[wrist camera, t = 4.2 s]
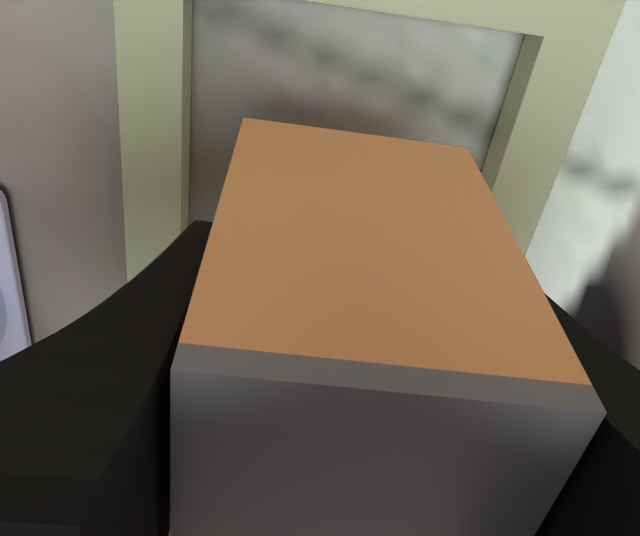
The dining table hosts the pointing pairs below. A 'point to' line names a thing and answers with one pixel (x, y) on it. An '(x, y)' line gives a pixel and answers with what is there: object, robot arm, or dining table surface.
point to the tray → (429, 3)
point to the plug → (368, 351)
